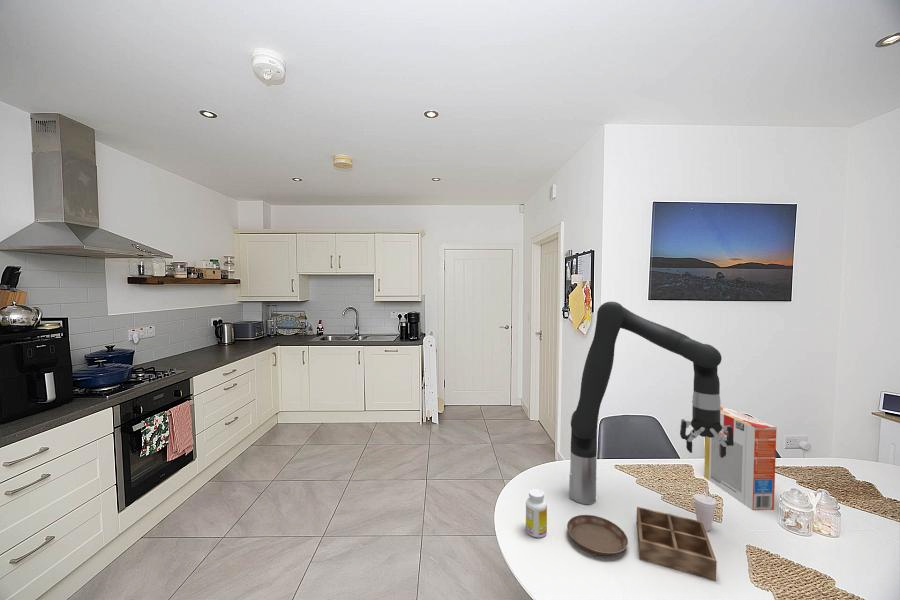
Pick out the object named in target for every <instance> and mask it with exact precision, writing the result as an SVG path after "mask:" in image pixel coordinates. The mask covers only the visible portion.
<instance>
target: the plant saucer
mask: <svg viewBox="0 0 900 600" xmlns="http://www.w3.org/2000/svg"><path fill="white" fill-rule="evenodd" d="M566 529H567V532H568V534H569V536H570V538H571V539H572V541H573V542H574V543H575V544H576V545H577V546H578V547H579V548H581V549H582V550H584V552H586V553H589V554H591V555H594V556H597V557H601V558H612V557H616V556H618V555H619V554H621V553H622V552H624V550H625V549H627V547H628V545H629V539H628V536H627V535H626V533H625V531H624V530H623V529H622V528H621V527H620V526H618V525H617V524H616V523H614V522H612V521H610V520H608V519H606V518H604V517H601V516H597V515H592V514H578V515H575V516H573V517H571V518H570V519H569V520H568V522H567V524H566Z"/></svg>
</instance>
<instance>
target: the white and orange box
mask: <svg viewBox="0 0 900 600" xmlns="http://www.w3.org/2000/svg"><path fill="white" fill-rule="evenodd" d="M720 424H721V425H724V426H726V425H730V426H731V427H732V429H733V441H734V445H733V446H727V447H726V456H724V458H721V457H720V455H719V444H720V442H719V441H718V440H717V438H716V437H712V438H710V437H707V436H706V437H704V440H705V441H704V468H703V469H704V470H703V473H704V474H703V475H704V476H703V477H704V479H706V480H707V481H709V482H710V483H712V484H713V485H715V486H717V487H718V488H719V489H721V490H722V491H723V492H725V493H727V494H728V495H729V496H731V497H733V498H734V499H735V500H737V501H738V502H739V503H741V504H742V505H744V506H746V507H747V508H748V509H750V510H751V511H771V510H772V511H774V510H775V491H776V490H775V487H776V485H775V484H776V458H777V457H776V456H777V455H776V453H777V450H776V449H777V426H774V425H772V424H769V423H767V422H765V421H762V420H760V419H757V418H755V417H752V416H750V415H746V414H744V413H741V412H739V411H736V410H734V409H731V408H729V407H727V406H723V405H722V406H720ZM718 434H719V435H720V437H721V438H722V439H723V440H724V441H725V440H727V433H726V432H725V431H724V430H723V429H722V430H721V431H720V432H719V433H718Z"/></svg>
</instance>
